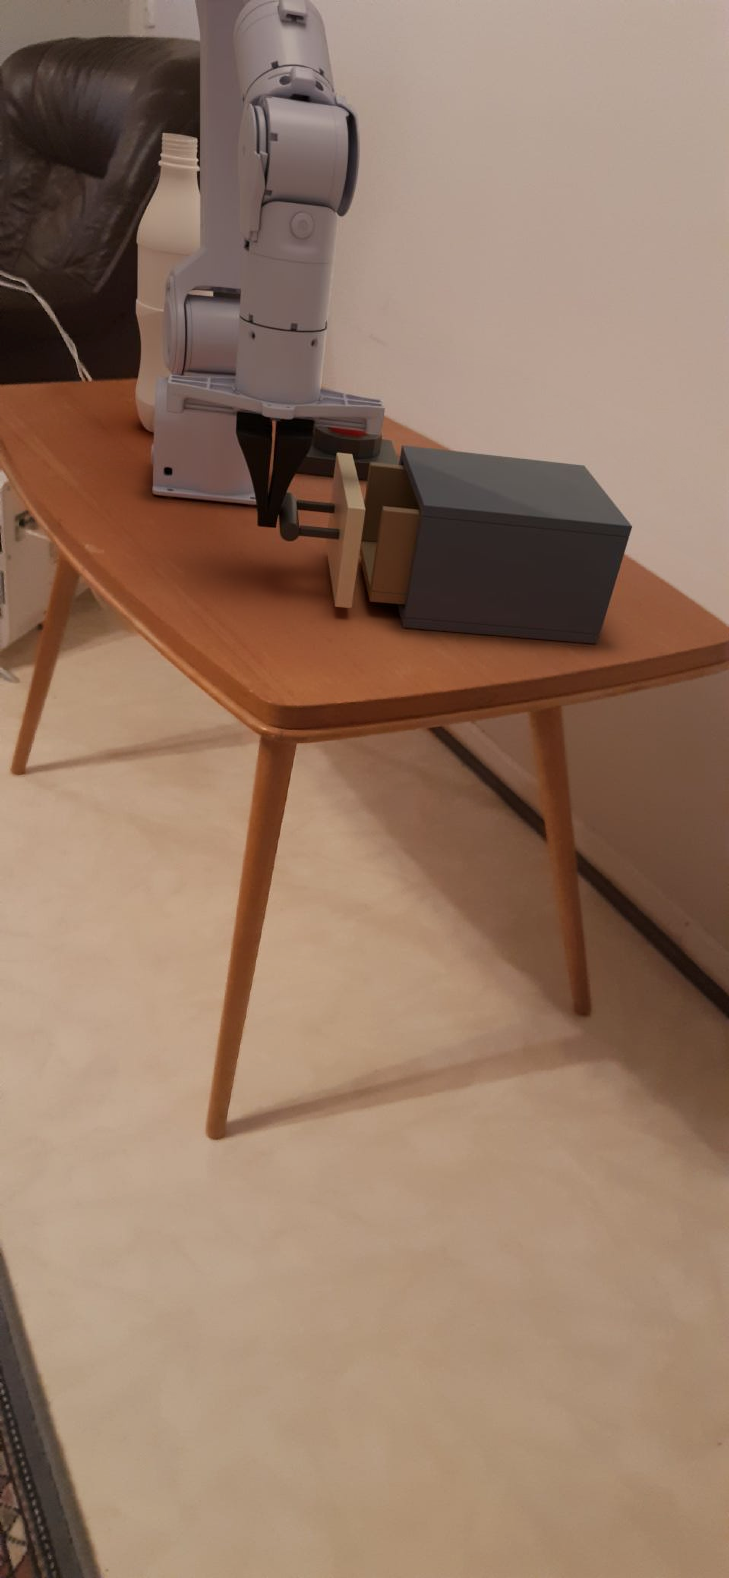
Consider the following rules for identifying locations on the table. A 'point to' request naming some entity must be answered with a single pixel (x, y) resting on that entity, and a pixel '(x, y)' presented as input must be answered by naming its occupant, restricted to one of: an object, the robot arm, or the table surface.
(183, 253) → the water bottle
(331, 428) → the button
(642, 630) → the table surface
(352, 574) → the drawer
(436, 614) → the cabinet
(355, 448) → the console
